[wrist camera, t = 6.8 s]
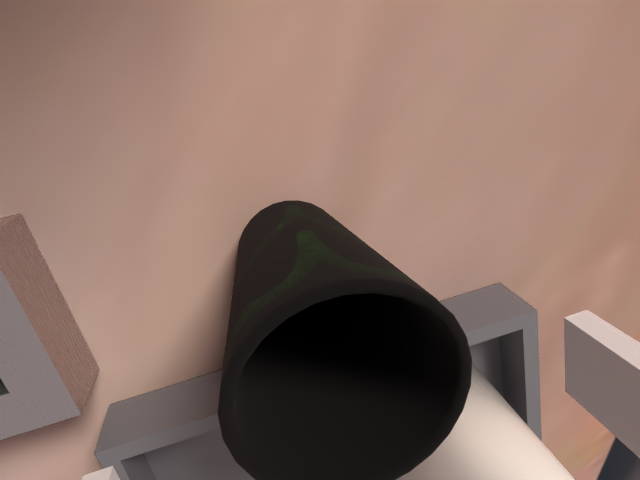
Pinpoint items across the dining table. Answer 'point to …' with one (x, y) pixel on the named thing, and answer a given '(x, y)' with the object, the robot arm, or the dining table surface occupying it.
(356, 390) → the cup
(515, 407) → the grey divided tray
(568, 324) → the robot arm
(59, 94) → the dining table surface
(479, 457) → the billet
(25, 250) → the grey square socket block
